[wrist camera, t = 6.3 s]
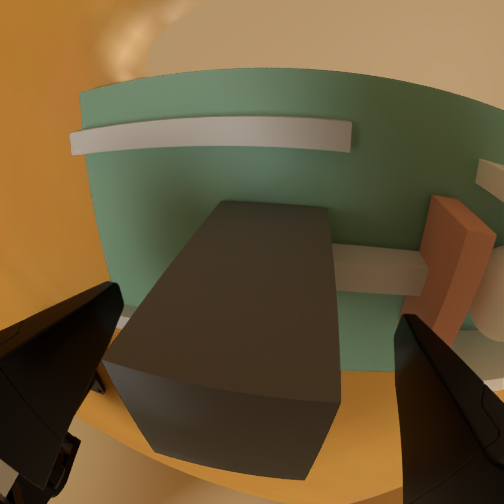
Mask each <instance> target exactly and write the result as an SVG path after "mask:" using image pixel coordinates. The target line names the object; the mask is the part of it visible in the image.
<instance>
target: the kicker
mask: <svg viewBox="0 0 504 504" xmlns="http://www.w3.org/2000/svg"><path fill="white" fill-rule="evenodd" d="M496 236H497V235H496V234H495V233H494V232H493V231H492V230H491V229H490V228H489V227H488V226H487V225H486V224H485V223H484V222H483V221H482V220H481V219H479V218H478V217H477V216H476V215H475V214H474V213H473V212H472V211H471V210H469V209H468V208H467V207H466V206H465V205H464V204H463V203H461V202H460V201H459V200H458V199H454V198H449V197H443V196H437V195H432V196H431V201H430V206H429V211H428V216H427V220H426V225H425V229H424V233H423V237H422V241H421V245H420V249H419V251H411V250H401V249H391V248H380V247H369V246H359V245H348V244H336V243H332V241H331V233H330V224H329V216H328V209H327V208H319V207H307V206H294V205H280V204H266V203H249V202H231V201H220V203H219V204H218V205H217V206H216V207H215V209H214V210H213V211H212V212H211V213H210V215H209V216H208V217H207V218H206V220H205V221H204V222H203V223H202V225H201V226H200V227H199V228H198V230H197V231H196V232H195V233H194V235H193V236H192V237H191V238H190V240H189V241H188V242H187V243H186V245H185V246H184V247H183V248H182V250H181V251H180V252H179V254H178V255H177V256H176V257H175V259H174V260H173V261H172V263H171V264H170V265H169V266H168V268H167V269H166V270H165V272H164V273H163V274H162V276H161V277H160V278H159V280H158V281H157V282H156V284H155V285H154V286H153V288H152V289H151V290H150V292H149V293H148V294H147V296H146V297H145V298H144V300H143V301H142V302H141V304H140V305H139V306H138V308H137V309H136V311H135V312H134V313H133V315H132V316H131V317H130V319H129V320H128V322H127V323H126V324H125V326H124V327H123V329H122V330H121V331H120V333H119V334H118V336H117V337H116V339H115V340H114V341H113V343H112V344H111V346H110V347H109V349H108V350H107V352H106V353H105V354H104V356H103V357H102V359H101V361H102V363H103V365H104V367H105V369H106V371H107V373H108V375H109V377H110V379H111V380H112V382H113V384H114V386H115V388H116V390H117V392H118V394H119V395H120V397H121V399H122V401H123V402H124V404H125V406H126V408H127V409H128V411H129V413H130V415H131V416H132V418H133V420H134V421H135V423H136V424H137V426H138V428H139V429H140V431H141V432H142V434H143V436H144V437H145V439H146V440H147V442H148V443H149V445H150V446H151V448H152V449H153V451H154V452H156V453H159V454H162V455H165V456H169V457H172V458H176V459H179V460H183V461H187V462H191V463H195V464H199V465H203V466H207V467H212V468H217V469H221V470H227V471H232V472H237V473H243V474H250V475H256V476H264V477H272V478H281V479H292V480H305V479H306V477H307V475H308V473H309V471H310V469H311V467H312V465H313V463H314V461H315V459H316V457H317V455H318V453H319V451H320V449H321V447H322V445H323V443H324V440H325V438H326V436H327V434H328V432H329V429H330V427H331V425H332V423H333V420H334V418H335V416H336V413H337V411H338V409H339V406H340V404H341V371H340V343H339V323H338V308H337V294H336V290H338V291H351V292H364V293H378V294H393V295H406V297H405V300H404V303H403V306H402V309H401V312H400V314H399V317H398V323H399V320H400V318H401V316H402V314H404V313H408V314H416V315H417V316H418V317H419V318H420V319H421V320H422V321H423V322H424V323H425V324H427V325H428V326H429V327H430V328H431V329H432V330H433V331H434V332H435V333H436V334H437V335H438V336H439V337H440V338H441V339H442V340H443V341H444V342H445V343H446V344H447V345H448V346H449V347H451V345H452V343H453V341H454V339H455V337H456V335H457V333H458V331H459V329H460V327H461V325H462V323H463V321H464V319H465V317H466V315H467V313H468V310H469V308H470V306H471V304H472V301H473V299H474V297H475V294H476V292H477V290H478V287H479V285H480V282H481V280H482V277H483V274H484V272H485V269H486V266H487V264H488V261H489V258H490V255H491V252H492V249H493V246H494V243H495V240H496Z"/></svg>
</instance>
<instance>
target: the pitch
mask: <svg viewBox="0 0 504 504" xmlns="http://www.w3.org/2000/svg"><path fill="white" fill-rule="evenodd" d="M80 106H81V119H82V130H79V131H76V132H72V133H70V142H71V150H72V155H80V154H85V157H86V164H87V171H88V178H89V184H90V190H91V196H92V201H93V206H94V212H95V216H96V221H97V226H98V231H99V235H100V239H101V244H102V248H103V252H104V256H105V260H106V264H107V268H108V271H109V275H110V279H111V282H116V283H118V284H119V286H120V290H121V293H122V297H123V300H124V309H123V311H122V314H121V316H120V319H119V321H118V323H117V326H116V328H120V329H123V327H124V326H125V324H126V323H127V322H128V320H129V319H130V317H131V316H132V315H133V313H134V312H135V311H136V309H137V308H138V306H139V305H140V304H141V302H142V301H143V300H144V298H145V297H146V296H147V294H148V293H149V292H150V290H151V289H152V288H153V286H154V285H155V284H156V282H157V281H158V280H159V278H160V277H161V276H162V274H163V273H164V272H165V270H166V269H167V268H168V266H169V265H170V264H171V263H172V261H173V260H174V259H175V257H176V256H177V255H178V254H179V252H180V251H181V250H182V248H183V247H184V246H185V245H186V243H187V242H188V241H189V240H190V238H191V237H192V236H193V235H194V233H195V232H196V231H197V230H198V228H199V227H200V226H201V225H202V223H203V222H204V221H205V220H206V218H207V217H208V216H209V215H210V213H211V212H212V211H213V210H214V209H215V207H216V206H217V205H218V204H219V203H220V201H231V202H249V203H266V204H280V205H294V206H307V207H319V208H327V209H328V216H329V224H330V233H331V241H332V243H336V244H348V245H359V246H369V247H380V248H391V249H401V250H411V251H419V249H420V245H421V241H422V237H423V233H424V229H425V225H426V220H427V216H428V211H429V206H430V201H431V196H432V195H437V196H443V197H449V198H454V199H458V200H459V201H460V202H461V203H463V204H464V205H465V206H466V207H467V208H468V209H469V210H471V211H472V212H473V213H474V214H475V215H476V216H477V217H478V218H479V219H481V220H482V221H483V222H484V223H485V224H486V225H487V226H488V227H489V228H490V229H491V230H492V231H493V232H494V233H495V234H496V235H497V236H496V240H495V243H494V246H493V249H494V248H497V247H499V246H504V110H501V109H499V108H496V107H493V106H490V105H488V104H485V103H482V102H479V101H476V100H473V99H470V98H467V97H464V96H461V95H457V94H454V93H450V92H447V91H443V90H439V89H435V88H431V87H427V86H423V85H419V84H414V83H409V82H405V81H400V80H394V79H389V78H382V77H377V76H370V75H363V74H356V73H348V72H339V71H328V70H314V69H297V68H238V69H237V68H236V69H218V70H206V71H205V70H204V71H194V72H185V73H176V74H169V75H162V76H155V77H149V78H143V79H137V80H132V81H127V82H122V83H117V84H113V85H108V86H104V87H100V88H96V89H92V90H88V91H84V92H81V93H80ZM336 294H337V308H338V323H339V343H340V370H348V371H376V372H395V362H394V334H395V331H396V328H397V326H398V317H399V314H400V312H401V309H402V306H403V303H404V300H405V297H406V295H393V294H378V293H364V292H351V291H338V290H336ZM450 348H451V349H452V350H453V351H454V352H455V353H456V354H457V355H458V356H459V357H460V358H461V359H462V360H463V361H464V362H465V363H466V364H467V365H468V366H469V367H470V368H471V369H472V370H473V371H474V372H475V373H476V374H477V375H478V376H479V377H480V379H481V380H482V381H483V382H484V384H486V385H487V386H488V387H489V388H490V389H491V390H492V391H498V390H504V342H499V341H495V340H492V339H489V338H488V337H486V336H485V335H483V334H482V333H481V332H480V331H479V330H478V329H477V328H476V326H475V325H474V323H473V321H472V319H471V317H470V314H469V311H468V313H467V315H466V317H465V319H464V321H463V323H462V325H461V327H460V329H459V331H458V333H457V335H456V337H455V339H454V341H453V343H452V345H451V347H450Z"/></svg>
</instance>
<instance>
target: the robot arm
mask: <svg viewBox="0 0 504 504" xmlns="http://www.w3.org/2000/svg"><path fill="white" fill-rule="evenodd" d="M123 309H124V300H123V297H122V293H121V290H120V286H119V284H118V283H116V282H111V281H106V282H104V283H102V284H99V285H97V286H95V287H93V288H91V289H88V290H86V291H84V292H82V293H80V294H77V295H75V296H73V297H71V298H69V299H67V300H64V301H62V302H60V303H58V304H56V305H54V306H52V307H50V308H47V309H45V310H43V311H41V312H39V313H37V314H35V315H33V316H31V317H29V318H27V319H25V320H22V321H20V322H18V323H16V324H14V325H12V326H10V327H8V328H5V329H3V330H1V331H0V504H47V502H48V501H49V500H50V498H53V497H55V496H57V495H58V494H59V493H60V492H61V491H62V489H63V488H64V486H65V484H66V482H67V479H68V477H69V474H70V471H71V468H72V465H73V462H74V459H75V456H76V454H77V451H78V448H79V445H80V443H81V440H79V439H78V438H77V437H74V436H72V435H71V434H70V433H69V432H67V431H68V428H69V426H70V424H71V422H72V419H73V417H74V415H75V414H76V412H77V410H78V409H79V407H80V406H81V404H82V402H83V401H84V399H85V398H86V396H87V394H88V393H89V391H90V390H93V391H95V392H98V393H101V394H104V393H105V391H106V389H105V387H104V385H103V383H102V382H101V380H100V378H99V376H98V374H97V373H96V369H97V367H98V365H99V363H100V361H101V359H102V357H103V355H104V353H105V351H106V349H107V347H108V345H109V343H110V340H111V338H112V336H113V333H114V331H115V328H116V326H117V323H118V321H119V319H120V316H121V314H122V311H123ZM394 362H395V387H396V395H397V404H398V413H399V423H400V435H401V449H402V469H403V504H504V403H503V402H502V401H501V400H500V399H499V397H498V396H497V395H496V394H495V393H494V392H493V391H492V390H491V389H490V388H489V387H488V386H487V385H486V384H484V382H483V381H482V380H481V379H480V377H479V376H478V375H477V374H476V373H475V372H474V371H473V370H472V369H471V368H470V367H469V366H468V365H467V364H466V363H465V362H464V361H463V360H462V359H461V358H460V357H459V356H458V355H457V354H456V353H455V352H454V351H453V350H452V349H451V348H450V347H449V346H448V345H447V344H446V343H445V342H444V341H443V340H442V339H441V338H440V337H439V336H438V335H437V334H436V333H435V332H434V331H433V330H432V329H431V328H430V327H429V326H428V325H427V324H425V323H424V322H423V321H422V320H421V319H420V318H419V317H418V316H417V315H416V314H408V313H404V314H402V316H401V318H400V320H399V323H398V326H397V328H396V331H395V334H394Z"/></svg>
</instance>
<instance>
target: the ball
mask: <svg viewBox="0 0 504 504" xmlns="http://www.w3.org/2000/svg"><path fill="white" fill-rule="evenodd" d="M468 311H469V314H470V317H471V319H472V321H473V323H474V325H475V326H476V328H477V329H478V330H479V331H480V332H481V333H482V334H483V335H485V336H486V337H488V338H489V339H492V340H495V341H499V342H504V246H499V247H497V248H494V249H492V252H491V255H490V258H489V261H488V264H487V266H486V269H485V272H484V274H483V277H482V280H481V282H480V285H479V287H478V290H477V292H476V294H475V297H474V299H473V301H472V304H471V306H470V308H469V310H468Z"/></svg>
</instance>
